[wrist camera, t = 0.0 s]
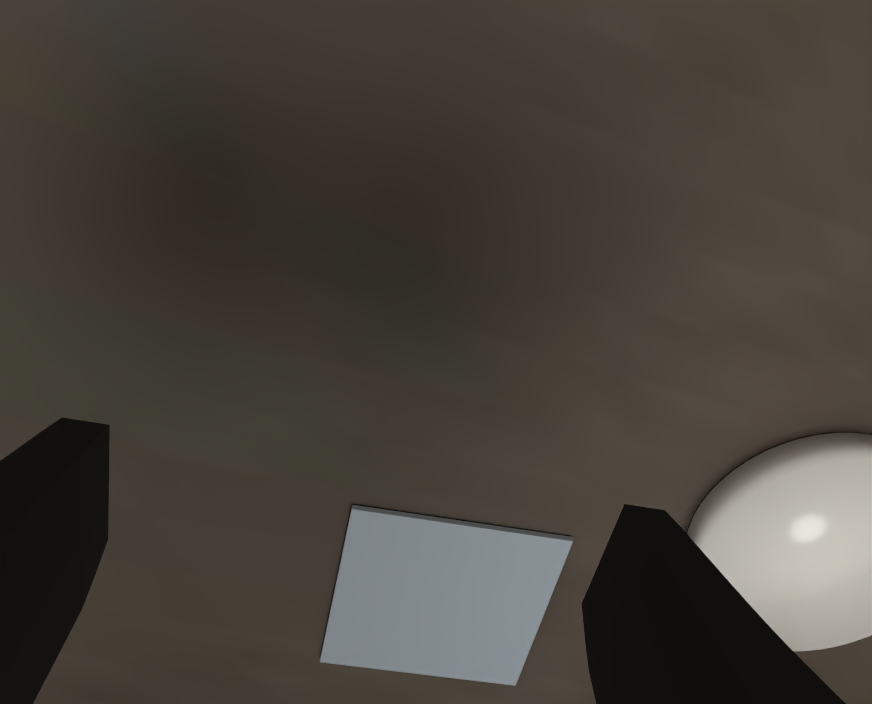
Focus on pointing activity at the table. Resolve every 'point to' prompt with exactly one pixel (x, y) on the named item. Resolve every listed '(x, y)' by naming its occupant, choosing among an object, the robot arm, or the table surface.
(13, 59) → the table surface
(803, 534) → the dish
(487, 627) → the pad
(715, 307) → the table surface
